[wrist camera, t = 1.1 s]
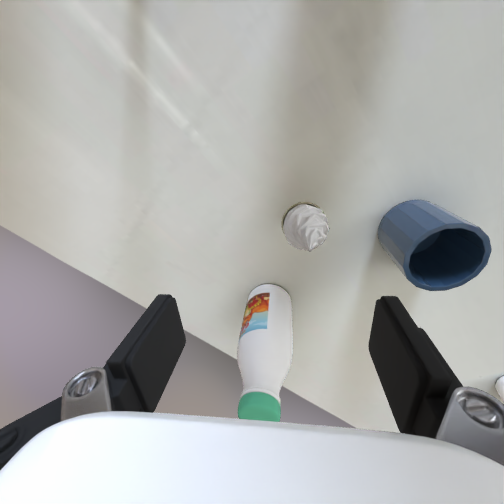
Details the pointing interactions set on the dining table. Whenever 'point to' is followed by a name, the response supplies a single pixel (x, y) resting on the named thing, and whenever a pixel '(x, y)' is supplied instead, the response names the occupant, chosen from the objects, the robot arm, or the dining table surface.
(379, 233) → the tumbler
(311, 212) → the ice cream cone
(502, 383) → the cup
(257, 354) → the milk bottle
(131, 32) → the dining table surface
